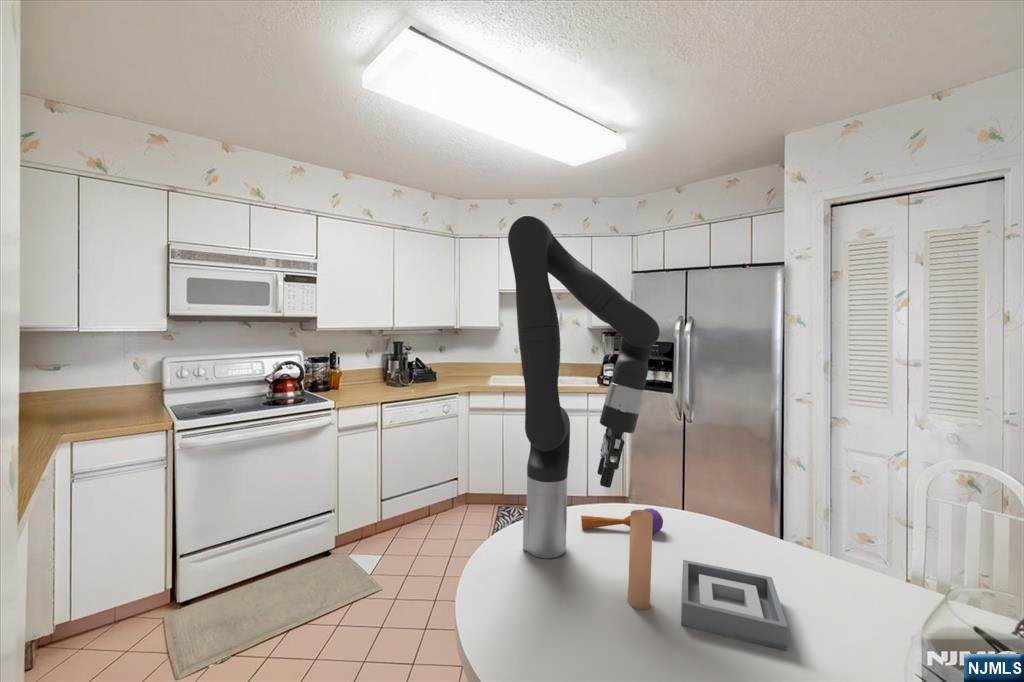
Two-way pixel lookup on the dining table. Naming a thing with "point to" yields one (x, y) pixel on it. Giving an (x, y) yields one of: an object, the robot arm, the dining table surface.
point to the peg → (640, 559)
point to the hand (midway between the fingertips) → (603, 480)
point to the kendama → (620, 521)
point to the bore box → (732, 604)
